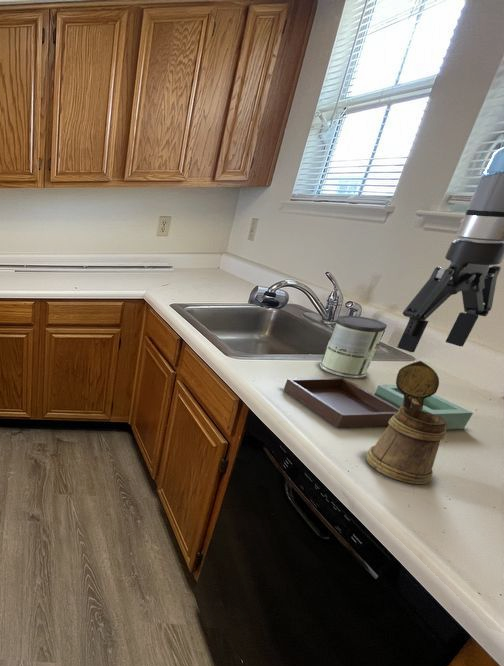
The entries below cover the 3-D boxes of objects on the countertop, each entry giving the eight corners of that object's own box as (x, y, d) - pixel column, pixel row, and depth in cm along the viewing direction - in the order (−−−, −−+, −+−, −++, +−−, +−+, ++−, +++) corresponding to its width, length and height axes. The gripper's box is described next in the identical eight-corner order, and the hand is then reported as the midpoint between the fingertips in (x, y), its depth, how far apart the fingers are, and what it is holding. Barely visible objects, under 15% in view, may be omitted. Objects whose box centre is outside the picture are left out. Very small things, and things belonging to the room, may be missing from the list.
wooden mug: (408, 447, 82) (452, 364, 74) (438, 490, 71) (494, 398, 63) (353, 436, 85) (389, 356, 77) (374, 475, 74) (419, 386, 66)
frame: (463, 428, 88) (473, 412, 86) (424, 430, 88) (433, 414, 86) (406, 399, 100) (413, 384, 98) (371, 400, 99) (378, 385, 97)
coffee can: (316, 360, 121) (333, 313, 114) (359, 366, 117) (379, 318, 111) (323, 373, 112) (342, 324, 106) (370, 381, 108) (393, 330, 102)
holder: (401, 425, 89) (407, 413, 88) (337, 427, 88) (342, 415, 87) (338, 388, 104) (343, 377, 103) (283, 390, 103) (287, 378, 102)
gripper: (502, 235, 83) (452, 335, 92) (408, 239, 77) (365, 345, 87) (555, 241, 76) (495, 348, 86) (457, 245, 71) (404, 359, 80)
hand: (430, 347), depth 86 cm, fingers open, 13 cm apart
